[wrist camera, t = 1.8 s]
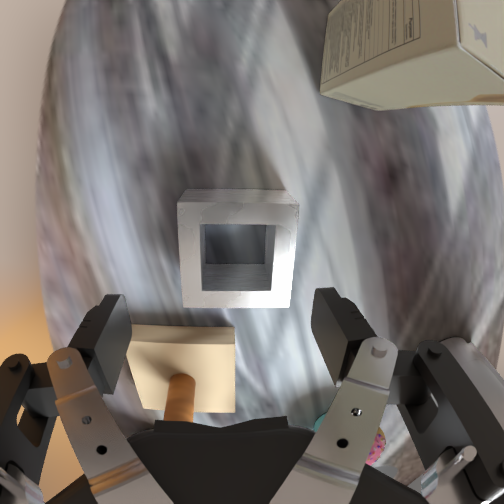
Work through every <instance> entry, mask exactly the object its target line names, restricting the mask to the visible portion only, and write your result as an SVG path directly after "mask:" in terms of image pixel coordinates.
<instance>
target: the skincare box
mask: <svg viewBox="0 0 504 504" xmlns="http://www.w3.org/2000/svg"><path fill="white" fill-rule="evenodd" d="M320 94H321V95H323V96H326V97H330V98H334V99H337V100H341V101H344V102H348V103H351V104H354V105H358V106H362V107H365V108H369V109H373V110H377V111H383V110H393V109H403V108H414V107H429V106H451V105H456V106H457V105H504V0H341V1H340V2H339V3H338V4H337V6H336V7H335V8H334V9H333V10H332V11H331V12H330V13H329V14H328V20H327V27H326V35H325V43H324V52H323V62H322V72H321V83H320Z"/></svg>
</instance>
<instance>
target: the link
mask: <svg viewBox="0 0 504 504" xmlns="http://www.w3.org/2000/svg"><path fill="white" fill-rule="evenodd" d="M298 214H299V203H298V202H297V201H296V200H295V199H294V198H293V197H292V196H291V195H290V194H289V193H288V192H287V191H286V190H260V189H186V190H185V192H184V193H183V195H182V196H181V197H180V199H179V200H178V202H177V219H178V240H179V257H180V272H181V285H182V297H183V308H277V307H289V302H290V294H291V285H292V276H293V266H294V257H295V247H296V236H297V225H298ZM205 224H257V225H266V241H265V258H264V264H206V253H205Z"/></svg>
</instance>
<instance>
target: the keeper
mask: <svg viewBox="0 0 504 504" xmlns="http://www.w3.org/2000/svg"><path fill="white" fill-rule="evenodd" d="M131 325H132V338H131V341H130V344H129V347H128V350H127V353H126V355H127V359H128V362H129V366H130V369H131V372H132V375H133V379H134V382H135V385H136V388H137V391H138V394H139V397H140V400H141V402H142V405H143V408H145V409H155V410H165V413H164V419H163V420H165V421H188V422H193V412H235V331H234V327H189V326H158V325H138V324H131Z"/></svg>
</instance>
